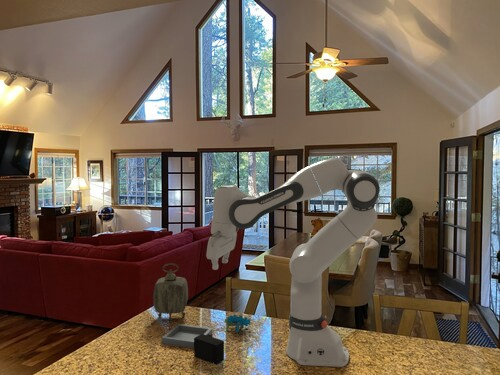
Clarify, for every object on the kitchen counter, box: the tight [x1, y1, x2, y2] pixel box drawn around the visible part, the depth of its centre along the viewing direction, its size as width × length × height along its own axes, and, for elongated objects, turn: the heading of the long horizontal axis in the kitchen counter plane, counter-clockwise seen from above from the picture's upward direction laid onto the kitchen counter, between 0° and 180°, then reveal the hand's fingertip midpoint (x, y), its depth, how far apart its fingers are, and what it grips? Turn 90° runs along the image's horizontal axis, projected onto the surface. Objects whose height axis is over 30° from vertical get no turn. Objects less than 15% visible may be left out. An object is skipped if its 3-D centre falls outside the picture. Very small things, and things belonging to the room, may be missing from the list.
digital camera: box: [193, 334, 225, 366], centre depth 134 cm, size 10×5×7 cm, turn 57°
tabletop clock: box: [152, 262, 189, 322], centre depth 168 cm, size 14×9×25 cm, turn 94°
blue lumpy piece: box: [224, 314, 251, 334], centre depth 156 cm, size 11×6×10 cm
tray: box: [161, 323, 214, 350], centre depth 148 cm, size 15×13×2 cm
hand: (220, 265), depth 139 cm, fingers open, 8 cm apart
